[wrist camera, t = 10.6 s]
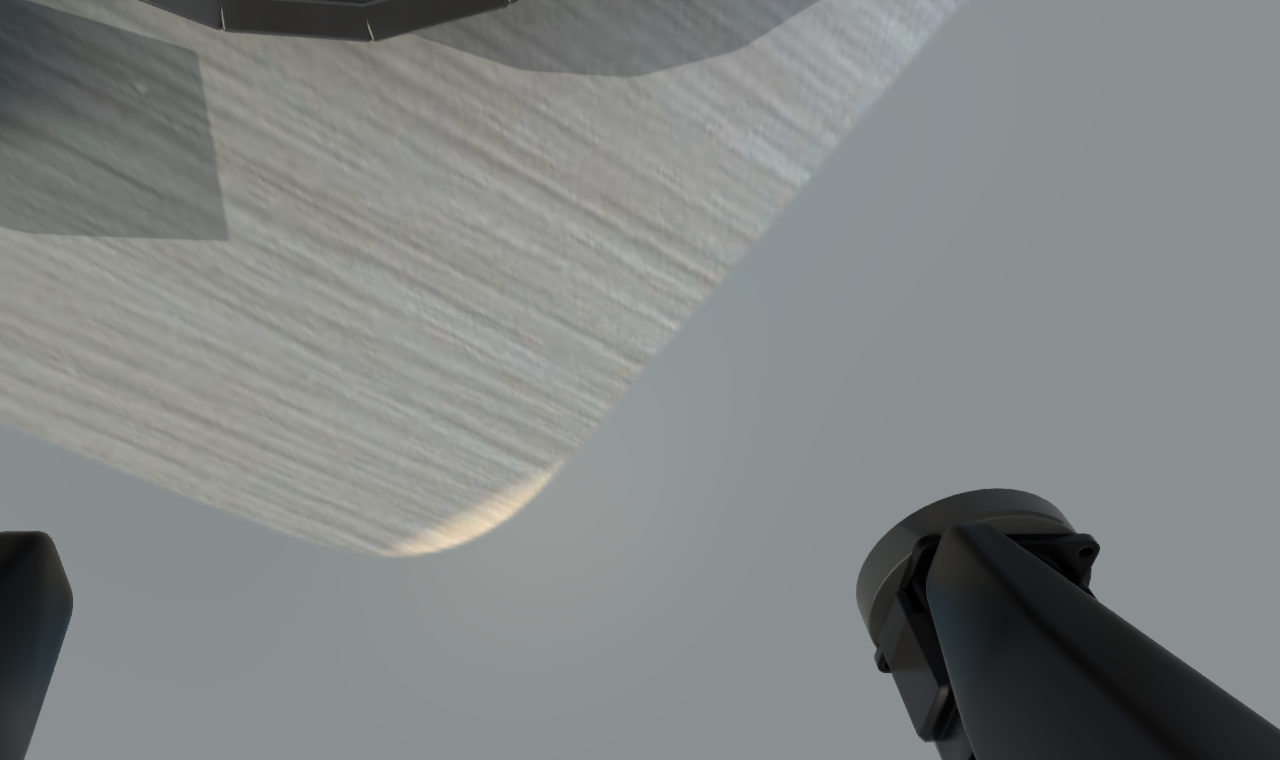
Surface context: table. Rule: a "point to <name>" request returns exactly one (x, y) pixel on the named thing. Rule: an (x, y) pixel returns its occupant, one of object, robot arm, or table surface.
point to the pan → (327, 16)
